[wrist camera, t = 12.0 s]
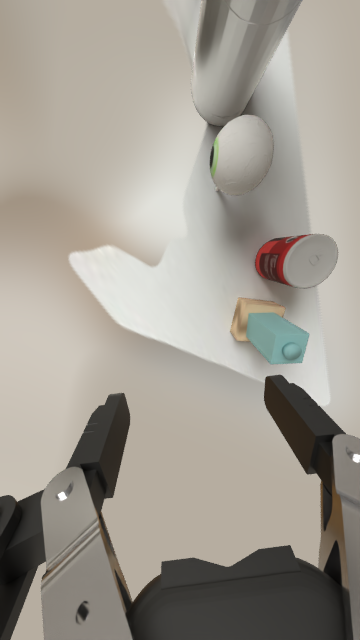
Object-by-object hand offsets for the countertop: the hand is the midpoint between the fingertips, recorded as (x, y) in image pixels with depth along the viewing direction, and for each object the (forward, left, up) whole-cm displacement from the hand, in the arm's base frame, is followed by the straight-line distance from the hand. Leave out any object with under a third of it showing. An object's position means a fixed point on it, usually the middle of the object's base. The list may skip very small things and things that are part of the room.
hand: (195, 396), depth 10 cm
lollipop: (-17, +9, -30) cm, 36 cm away
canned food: (-4, +20, -30) cm, 37 cm away
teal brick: (+8, +16, -25) cm, 31 cm away
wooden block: (+8, +16, -30) cm, 35 cm away
